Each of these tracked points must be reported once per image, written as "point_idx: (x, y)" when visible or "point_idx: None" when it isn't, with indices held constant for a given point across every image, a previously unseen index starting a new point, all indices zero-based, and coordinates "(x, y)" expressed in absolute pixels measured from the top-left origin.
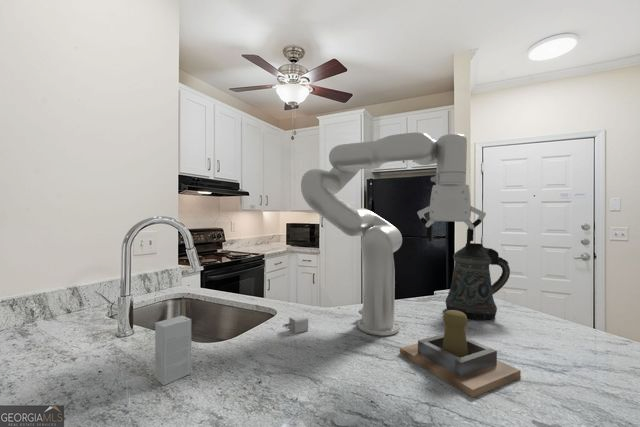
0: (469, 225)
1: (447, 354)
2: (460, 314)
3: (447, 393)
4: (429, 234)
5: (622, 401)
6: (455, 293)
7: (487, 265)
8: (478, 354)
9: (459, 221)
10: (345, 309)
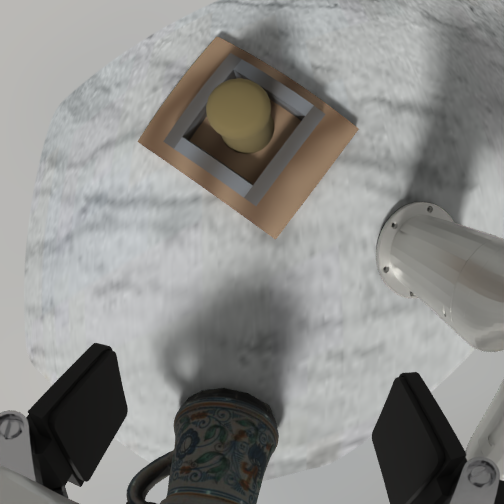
0: (15, 443)
1: (257, 72)
2: (221, 91)
3: (255, 35)
4: (434, 406)
5: (49, 150)
6: (254, 439)
7: (166, 497)
8: (198, 102)
9: (55, 493)
10: None
